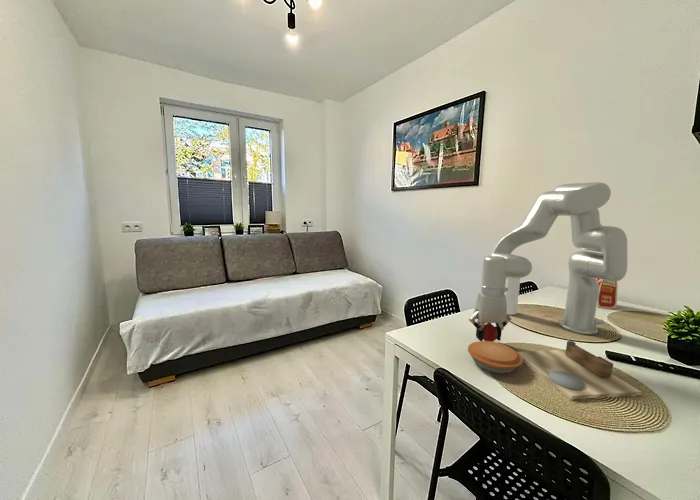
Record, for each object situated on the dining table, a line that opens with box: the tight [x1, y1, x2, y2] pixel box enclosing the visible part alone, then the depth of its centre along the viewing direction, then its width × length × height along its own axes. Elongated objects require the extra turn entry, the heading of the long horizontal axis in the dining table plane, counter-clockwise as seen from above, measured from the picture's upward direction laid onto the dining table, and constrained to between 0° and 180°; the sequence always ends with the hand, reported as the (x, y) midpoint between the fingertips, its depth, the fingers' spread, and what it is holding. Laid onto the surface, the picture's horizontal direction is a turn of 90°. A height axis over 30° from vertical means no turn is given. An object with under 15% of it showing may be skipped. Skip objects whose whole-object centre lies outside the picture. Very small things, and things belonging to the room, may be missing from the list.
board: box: [517, 349, 642, 401], centre depth 85 cm, size 20×22×1 cm
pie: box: [467, 340, 524, 375], centre depth 90 cm, size 16×16×5 cm
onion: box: [482, 323, 498, 342], centre depth 103 cm, size 6×6×8 cm
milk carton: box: [596, 278, 619, 310], centre depth 142 cm, size 9×9×20 cm
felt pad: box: [549, 371, 585, 390], centre depth 80 cm, size 8×8×1 cm
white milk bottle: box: [505, 277, 521, 316], centre depth 131 cm, size 7×7×25 cm
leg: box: [565, 340, 613, 378], centre depth 87 cm, size 13×2×4 cm, turn 7°
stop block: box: [597, 356, 614, 376], centre depth 84 cm, size 2×4×4 cm, turn 5°
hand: (488, 338), depth 104 cm, fingers closed on onion, 5 cm apart
